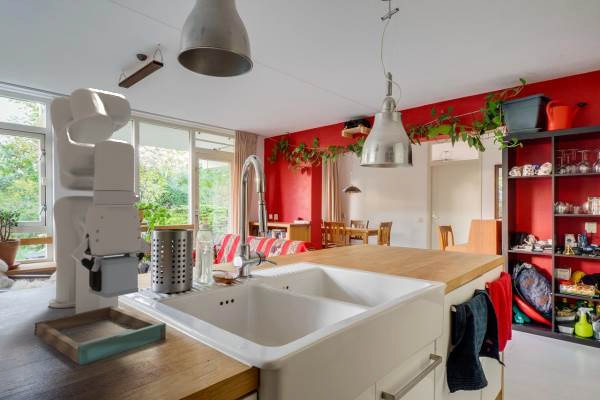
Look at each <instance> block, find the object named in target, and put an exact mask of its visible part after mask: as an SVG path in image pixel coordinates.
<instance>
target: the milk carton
mask: <svg viewBox="0 0 600 400" xmlns="http://www.w3.org/2000/svg"><path fill="white" fill-rule="evenodd" d="M83 255H84V256H85V257H86V258H87V259H89V258H91V255H86V254H84V253H83ZM89 288H90V286H89V270H87V268H85V267H84V266H83V265H82V264H80V262H78V261H77V260H76V307H75V314H78V313H82V312H87V311H92V310H96V309H101V308H105V307H110V306H114V307H116V308H119V296H115V297H110V298H105V297H102V296H99V295H96V294H93V293H90V292H89Z"/></svg>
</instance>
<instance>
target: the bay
mask: <svg viewBox="0 0 600 400" xmlns="http://www.w3.org/2000/svg"><path fill="white" fill-rule="evenodd" d="M105 319H106V320H107V319H112V320H113V321H116V322H119V323H121V324H123V325H126V326H128V327H130V328H128V329H124V330H122V331H118V332H114V333H111V334H107V335H103V336H99V337H95V338H93V339H88V340H85V341H83V342H77V341H75V340H73V339H72V338H70V337H68V336H67V335H65V334H64V333H62V332H60V330H64V329H70V328H74V327H78V326H82V325H85V324H89V323H93V322H97V321H102V320H105ZM166 325H167V323H166V322H163V321H162V322H157V321H154V320H152V319H149V318H146V317H143V316H141V315H138V314H135V313H133V312H130V311H127V310H124V309H121V308H119V307H118V308H116V307H114V306H110V307H105V308H101V309H96V310H92V311H87V312H82V313H78V314H76V313H74V314H69V315H66V316H65V315H64V316H61V317H55V318H51V319H47V320H42V321H38V322H37V321H36V322H35V323H34V335H35V336H36V337H38V338H40V339H41V340H42V341H44V343H47V344H48V345H50V346H51V347H53V348H54V349H56V350H57V351H58V352H61V354H63V355H64V356H66V357H67V358H68V359H70V360H72V361H73V362H75V363H76V364H77V365H79V366H83V365H87V364H89V363H92V362H95V361H98V360H102V359H105V358H107V357H110V356H113V355H116V354H119V353H123V352H125V351H129V350H131V349H134V348H137V347H140V346H143V345H147V344H150V343H153V342H155V341H159V340H162V339H166V337H167V334H166V333H167V332H166V330H167V326H166Z"/></svg>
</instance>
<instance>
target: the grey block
mask: <svg viewBox="0 0 600 400" xmlns="http://www.w3.org/2000/svg"><path fill="white" fill-rule="evenodd" d="M89 260H90V258H89ZM138 261H139V257H130V256H124V254H122V255H113V256H104V257H103V260H101V265H100V267H99V271H101V273H102V274H101V291H99V292H97V291H93V290H92V289H91V287H90V288H89V292H90V293H93V294H96V295H99V296H102V297H105V298H110V297H115V296H118V297H120V296H125V295H129V294H130V295H131V294H136V293H139V287H138V286H139V278H138V277H139V271H138V270H139V265H138Z"/></svg>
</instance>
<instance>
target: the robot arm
mask: <svg viewBox="0 0 600 400" xmlns="http://www.w3.org/2000/svg"><path fill="white" fill-rule="evenodd" d="M49 107H50V108H49V114H50V120H51V124H52V125H51V126H52V128H53V131H54V133H55V135H56V138H57V139H56V154H57V159H58V165H59V182H60V186H61V187H62V188H63V190H66V191H70V192H71V191H72V192H84V193H85V192H88V193H89V192H91V193H93V194H92V195H67V196H63V197H62V196H61V197H60V198H58V199H57V200H55V202H54V203H53V207H52V211H53V218H54V224H55V232H56V237H55V238H56V263H55V265H56V267H55V268H56V271H55V277H56V278H55V281H56V283H55V298H53V299H50V301H49V303H48V305H49V306H50V307H51V308H56V309H57V308H59V309H60V308H61V309H65V308H67V309H68V308H76V260H77V261H78V262H80V264H82V265H83V266H84V267H85V268H87V270H89V286H90V287H91V289H92V290H93V291H97V292H99V291H101V274H102V273H101V271H99V267H100V265H101V260H103V257H104V256H113V255H124V256H130V257H139V261H138V266H139V265H140V262H141V261H142V260H143V258H145V255H146V254H147V253H149V251H150V250H151V249H152V247H151V245H150V244H148V242H147V241H146V240H145V239H144V238H143V237H142V227H141V219H140V215H139V210H138V207H137V206H135V205H136V203H137V202H140V201H141V197H140V195H136V192H135V158H136V157H135V148H134V145H132V144H131V143H130V142H128V141H123V140H119V139H116V140H115V139H110V138H111V137H112V136H113V134H114V133H116V132H118V131H120V130H121V129H123V128H124V127H126V126H128V125H127V124H128V123H129V122H130V119H131V117H132V108H131V105H130V102H129V100H128V99H127V98H126V97H125V96H124V95H122V94H119V93H113V92H109V91H103V90H98V89H95V88H89V87H88V88H87V87H82V88H78V89H75V90H74V91H72V92H71V94H70V95H69V96H59V97H55V98H54V99H52V101H51V102H50V106H49ZM83 253H84V254H86V255H91V258H90V260H89V259H87V258H86V257H85V256H84V255H83Z"/></svg>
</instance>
